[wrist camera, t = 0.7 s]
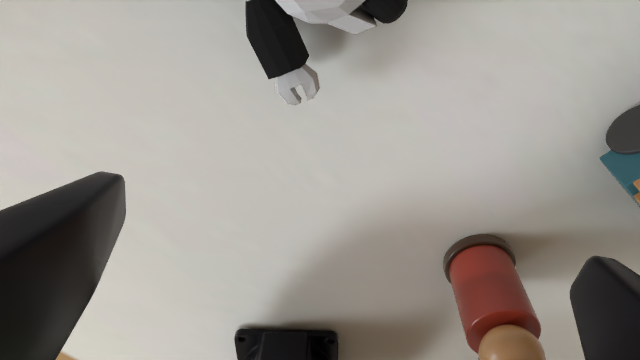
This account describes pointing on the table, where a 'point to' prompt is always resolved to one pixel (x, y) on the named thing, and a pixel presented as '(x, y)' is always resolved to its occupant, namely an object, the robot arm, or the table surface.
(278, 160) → the table surface
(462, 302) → the figure
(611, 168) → the truck
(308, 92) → the robot toy
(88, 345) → the table surface
